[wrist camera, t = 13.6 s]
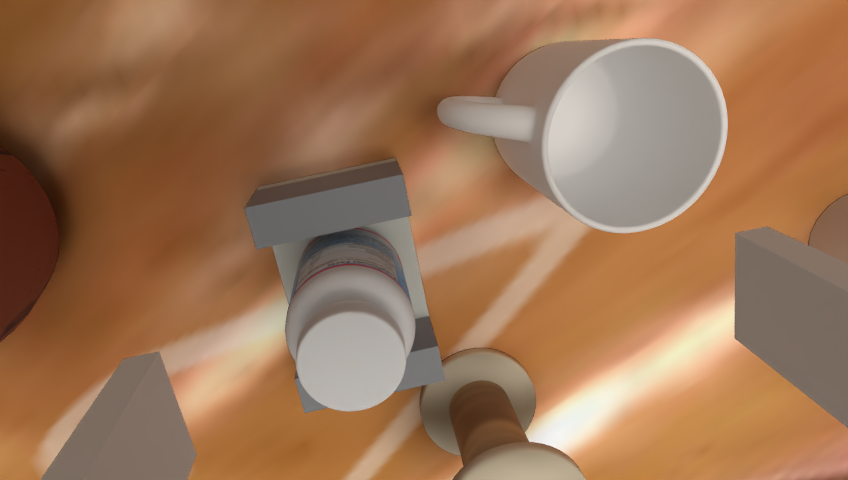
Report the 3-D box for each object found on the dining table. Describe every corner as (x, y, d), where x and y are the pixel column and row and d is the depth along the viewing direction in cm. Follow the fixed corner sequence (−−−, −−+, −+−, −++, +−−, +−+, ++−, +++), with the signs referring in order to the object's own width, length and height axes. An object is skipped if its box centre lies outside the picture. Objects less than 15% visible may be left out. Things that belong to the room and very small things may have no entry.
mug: (416, 171, 36) (441, 217, 26) (434, 22, 33) (470, 11, 23) (608, 191, 37) (701, 241, 28) (639, 51, 35) (751, 52, 25)
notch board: (258, 186, 35) (244, 208, 30) (395, 157, 35) (402, 174, 30) (310, 368, 38) (304, 413, 34) (433, 340, 39) (445, 380, 34)
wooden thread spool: (409, 362, 39) (431, 476, 29) (523, 336, 40) (586, 438, 29) (431, 459, 41) (458, 596, 31) (538, 433, 42) (601, 560, 31)
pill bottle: (381, 330, 37) (394, 443, 26) (284, 301, 36) (257, 406, 25) (417, 241, 36) (446, 323, 25) (318, 207, 34) (304, 277, 24)
